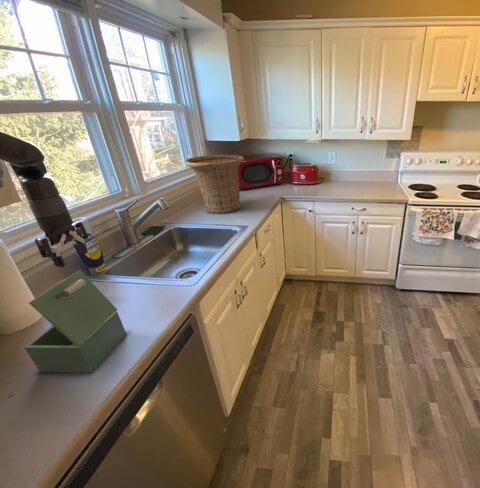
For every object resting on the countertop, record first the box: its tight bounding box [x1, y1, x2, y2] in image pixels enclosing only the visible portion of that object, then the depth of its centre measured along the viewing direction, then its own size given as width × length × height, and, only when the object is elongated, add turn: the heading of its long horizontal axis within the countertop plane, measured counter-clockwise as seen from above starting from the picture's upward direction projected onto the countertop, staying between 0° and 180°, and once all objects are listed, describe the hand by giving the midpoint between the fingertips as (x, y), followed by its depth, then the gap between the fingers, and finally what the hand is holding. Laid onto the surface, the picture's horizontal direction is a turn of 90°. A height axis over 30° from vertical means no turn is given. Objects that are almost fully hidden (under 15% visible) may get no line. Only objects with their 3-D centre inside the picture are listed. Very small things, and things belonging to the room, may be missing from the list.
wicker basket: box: [184, 154, 245, 215], centre depth 182 cm, size 35×35×33 cm
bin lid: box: [28, 269, 118, 347], centre depth 70 cm, size 14×14×5 cm
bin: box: [23, 311, 127, 373], centre depth 76 cm, size 14×14×9 cm
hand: (73, 259), depth 90 cm, fingers open, 8 cm apart
